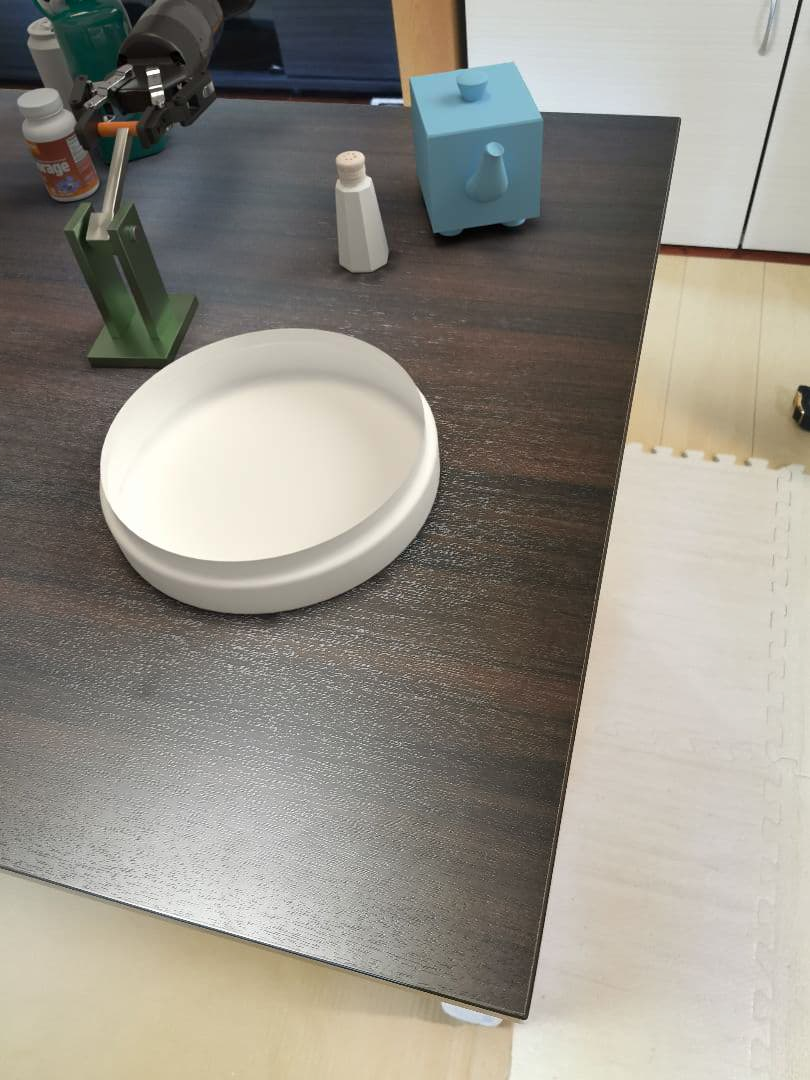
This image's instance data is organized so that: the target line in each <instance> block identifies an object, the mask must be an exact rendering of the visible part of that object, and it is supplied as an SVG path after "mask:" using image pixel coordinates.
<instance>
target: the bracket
mask: <svg viewBox="0 0 810 1080" xmlns="http://www.w3.org/2000/svg"><path fill="white" fill-rule="evenodd" d="M91 213H96V211H95V208H94V206H93V203H92V202H80V204H79V206H78V207H77V209H75V212H74V213H73V215H71V218H70V219H69V220H68V222H67V223H66V225H65V226H64V227H63V229H62V230H63V234H64V235H65V238H66V240H67V242H68V244H69V247H70V249H71V251H72V253H73V256H74V258H75V260H76V263H77V265H78V267H79V268H80V271H81V274H82V275H83V279H84V280H85V282H86V285H87V287H88V289H89V292H90V294H91V295H92V298H93V300H94V302H95V304H96V307H97V309H98V312H99V314H100V316H101V318H102V320H103V322H104V325H103V327H102V329H101V330H100V332H99V334H98V336H97V338H96V339H95V341H94V343H93V345H92V347H91V349H90V350H89V352H88V354H87V356H86V358H87V360H88V362H89V364H90V367H92V368H93V367H94V368H145V369H146V368H151V369H152V368H153V369H163V368H165V367H166V366H167V365H169V364H171V363H172V362H174V361H175V360H174V359H175V358H176V355H177V353H178V350H179V348H180V346H181V344H182V342H183V340H184V338H185V335H186V333H187V331H188V329H189V326H190V324H191V322H192V320H193V318H194V315H195V313H196V311H197V309H198V306H199V305H200V303H199V299H198V297H197V294H196V293H168V292H167V290H166V287H165V284H164V281H163V278H162V276H161V273H160V271H159V267H158V265H157V263H156V259H155V257H154V254H153V251H152V249H151V248H152V247H151V246H150V243H149V241H148V238H147V235H146V232H145V229H144V226H143V223H142V221H141V219H140V216H139V214H138V210H137V207H136V205H135V202H134V201H123V202H121V204H120V208H119V210H118V211H117V213H116V215H115V216H114V218H113V219H112V221H111V223H110V224H109V226H108V228H107V229H106V230H107V233H108V235H109V238H110V240H111V243H112V245H113V248H114V250H115V252H116V255H115V256H116V257H117V260H118V262H119V265H120V267H121V271H122V272H123V275H124V277H125V280H126V282H127V284H128V287H129V289H130V293H129V291H128V289H127V286H126V284H125V282H124V279H123V277H122V274H121V272H120V269H119V267H118V265H117V262H116V259H115V256H114V255H98V254H97V253H96V252H95V251H94V249H93V248H92V247H91V246H90V245H89V243H88V242H87V241H86V236H87V231H88V226H89V220H90V215H91Z"/></svg>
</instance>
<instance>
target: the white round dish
mask: <svg viewBox="0 0 810 1080" xmlns="http://www.w3.org/2000/svg"><path fill="white" fill-rule="evenodd" d="M438 437H439V436H438V429H437V424H436V420H435V417H434V415H433V412H432V409H431V406H430V405H429V402H428V401H427V400H426V397H425V395H424V394H423V393H422V392H421V389H419V387H418V386H417V385H416V383H415V382H414V380H413V379H412V377H411V376H410V374H409V373H408V372H407V371H406V369H404V367H403V366H401V364H400V363H399V362H398V361H397V360H395V358H393V357H392V356H390V355H389V354H387V353H386V352H384V351H383V350H381V349H380V348H378V347H376V346H374V345H372V344H370V343H368V342H367V341H364V340H362V339H359V338H356V337H353V336H351V335H346V334H343V333H340V332H334V331H330V330H321V329H316V328H315V329H314V328H301V327H299V328H298V327H295V328H272V329H263V330H258V331H251V332H246V333H242V334H238V335H237V334H236V335H234V336H231V337H227V338H224V339H221V340H218V341H215V342H212V343H209V344H207V345H204V346H202V347H199V348H197V349H195V350H193V351H191V352H188V353H187V354H185V355H183V356H181V357H179V358H177V359H176V360H173V362H172V363H171V364H169V365H167V366H166V367H165V368H161V369H160V370H159V371H157V372H156V373H155V374H153V375H152V376H151V377H149V378H148V379H147V380H146V381H145V382H144V383H143V384H142V385H140V387H139V388H137V390H135V391H134V392H133V393H132V395H131V396H130V397H128V399H127V400H126V401H125V403H124V404H123V405H122V407H121V408H120V410H119V411H118V412H117V414H116V416H115V417H114V419H113V421H112V423H111V424H110V426H109V429H108V431H107V433H106V436H105V438H104V443H103V446H102V449H101V454H100V460H99V461H100V466H99V467H100V472H99V473H100V477H99V499H100V505H101V506H100V507H101V510H102V514H103V516H104V519H105V522H106V525H107V527H108V529H109V530H110V533H111V534H112V536H113V538H114V540H115V541H116V543H117V545H118V547H119V548H120V550H121V552H122V554H123V555H124V557H125V558H126V560H127V561H128V563H129V564H130V566H131V567H132V568H133V569H134V570H135V571H136V572H137V574H139V575H140V577H141V578H143V580H144V581H146V582H147V583H149V584H150V585H151V586H152V587H154V588H155V589H156V590H157V591H160V592H161V593H163V594H165V595H166V596H168V597H170V598H172V599H174V600H177V601H179V602H181V603H183V604H186V605H189V606H192V607H196V608H198V609H203V610H207V611H211V612H215V613H216V612H217V613H225V614H232V615H233V614H234V615H259V614H260V615H261V614H274V613H280V612H287V611H293V610H297V609H300V608H305V607H309V606H312V605H315V604H318V603H322V602H325V601H327V600H330V599H332V598H334V597H337V596H339V595H341V594H344V593H346V592H348V591H350V590H352V589H354V588H355V587H358V586H360V585H361V584H364V583H365V582H366V581H368V580H369V579H371V578H372V577H374V576H375V575H377V574H378V573H380V572H381V571H382V570H383V569H385V568H386V567H387V566H388V565H390V564H391V563H392V562H393V561H395V560H396V558H398V557H399V556H400V555H401V554H402V553H403V552H404V551H405V550H406V549H407V548H408V546H409V545H410V544H411V543H412V541H413V540H414V539H415V538H416V536H417V535H418V534H419V532H420V531H421V529H422V527H423V526H424V525H425V523H426V522H427V519H428V518H429V515H430V513H431V511H432V508H433V505H434V503H435V500H436V498H437V494H438V488H439V485H440V474H441V463H440V462H441V461H440V449H439V438H438Z"/></svg>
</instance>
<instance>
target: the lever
mask: <svg viewBox="0 0 810 1080" xmlns="http://www.w3.org/2000/svg"><path fill="white" fill-rule="evenodd" d="M137 123H138V121H128V122H100V123H98V132H99V134H100V136H102V137H111V136H116V139H115V145H114V150H113V155H112V160H111V164H110V166H109V171H108V177H107V183H106V188H105V192H104V197H103V203H102V208H101V212H95V213H91V215H90V220H89V226H88V231H87V236H86V241H87V242H88V243H89V245H90V246H91V247H92V248H93V249H94V251H95V252H96V253H97V254H98V255H113V256H117V255H116V252H115V250H114V248H113V245H112V243H111V240H110V238H109V235H108V233H107V230H106V229H107V228H108V226H109V224H110V223H111V221H112V219H113V218H114V216H115V215H116V213H117V211H118V210H119V208H120V207H121V204H122V198H123V193H124V192H123V191H124V187H125V181H126V176H127V171H128V165H129V161H128V160H129V155H130V150H131V144H132V139H133V136H138V135H137V132H136V125H137Z"/></svg>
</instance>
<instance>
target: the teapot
mask: <svg viewBox="0 0 810 1080" xmlns="http://www.w3.org/2000/svg"><path fill="white" fill-rule="evenodd" d="M408 85H409V98H410V110H411V122H412V134H413V146H414V159H415V170H416V174H417V178H418V182H419V186H420V189H421V193H422V196H423V201H424V204H425V206H426V207H425V208H426V211H427V214H428V218H429V221H430V225H431V229H432V233H433V234H436V233H437V234H440V235H442V236H447V237H452V236H457V235H459V234H461V233H462V232H463V230H464V229H469V228H475V227H476V228H477V227H483V226H489V225H495V224H502V225H504V226H506V227H517V226H520V225H522V224H523V223H524V222H525V221H526V220H527V219H535V218H540V216H541V193H542V192H541V191H542V167H543V146H544V145H543V142H544V141H543V140H544V118H543V116H542V114H541V112H540V109H539V107H538V106H537V104H536V102H535V100H534V98H533V96H532V94H531V91H530V90H529V87H528V86H527V84H526V82H525V80H524V78H523V76H522V74H521V72H520V71H519V68H518V66H517V65H516V63H515V62H514V61H509V62H503V63H497V64H489V65H483V66H476V67H468V68H458V69H456V70H449V71H443V72H436V73H429V74H424V75H423V74H422V75H418V76H417V75H416V76H410V77H409V78H408Z"/></svg>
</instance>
